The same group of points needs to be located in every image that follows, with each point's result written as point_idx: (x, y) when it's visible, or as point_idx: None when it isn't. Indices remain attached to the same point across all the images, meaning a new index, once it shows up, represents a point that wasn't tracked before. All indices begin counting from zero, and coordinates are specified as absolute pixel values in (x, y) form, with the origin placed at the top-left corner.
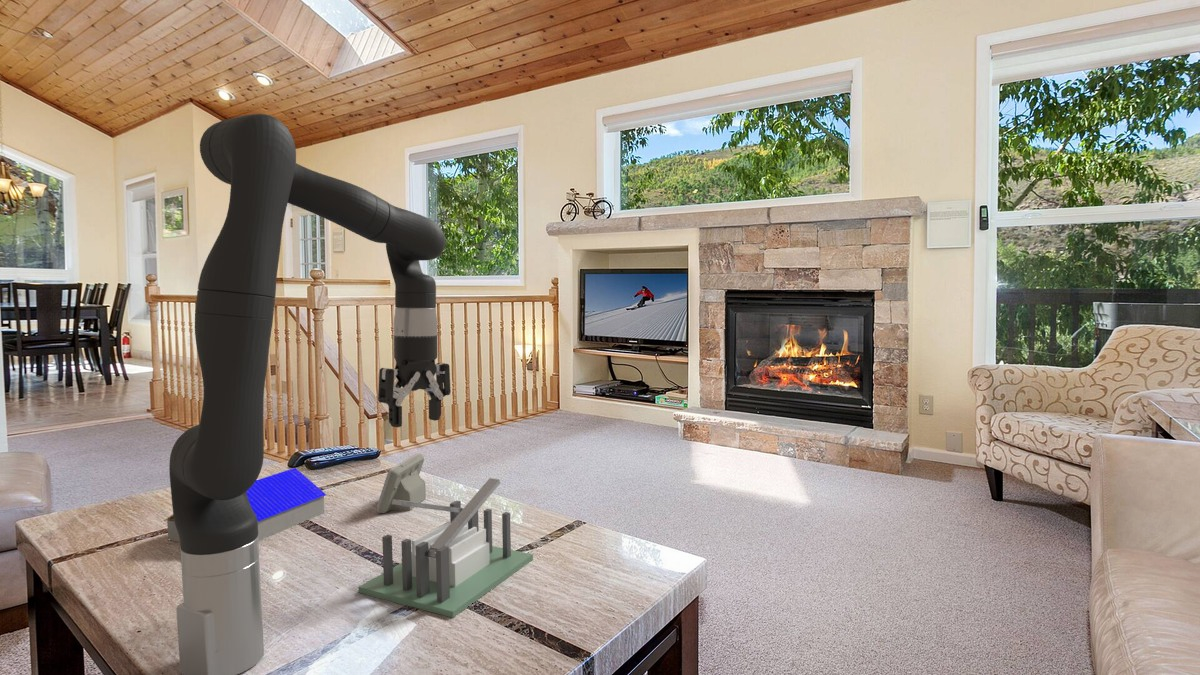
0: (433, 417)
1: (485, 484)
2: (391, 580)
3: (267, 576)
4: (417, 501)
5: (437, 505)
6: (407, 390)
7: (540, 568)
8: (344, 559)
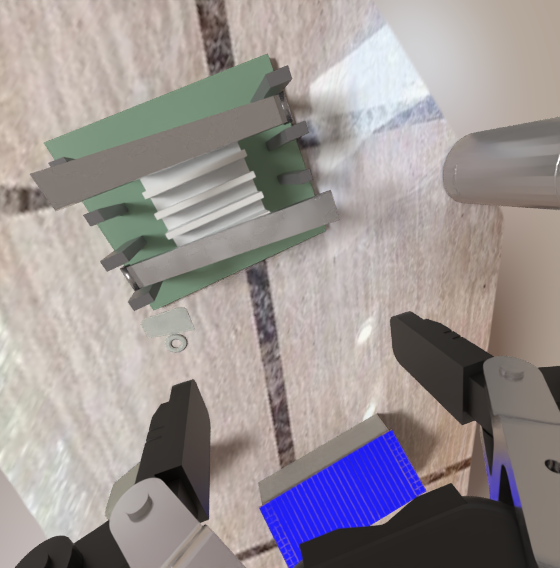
0: (199, 402)
1: (83, 194)
2: None
3: (373, 336)
4: (135, 469)
5: (218, 233)
6: (548, 440)
7: (53, 98)
8: (296, 333)
